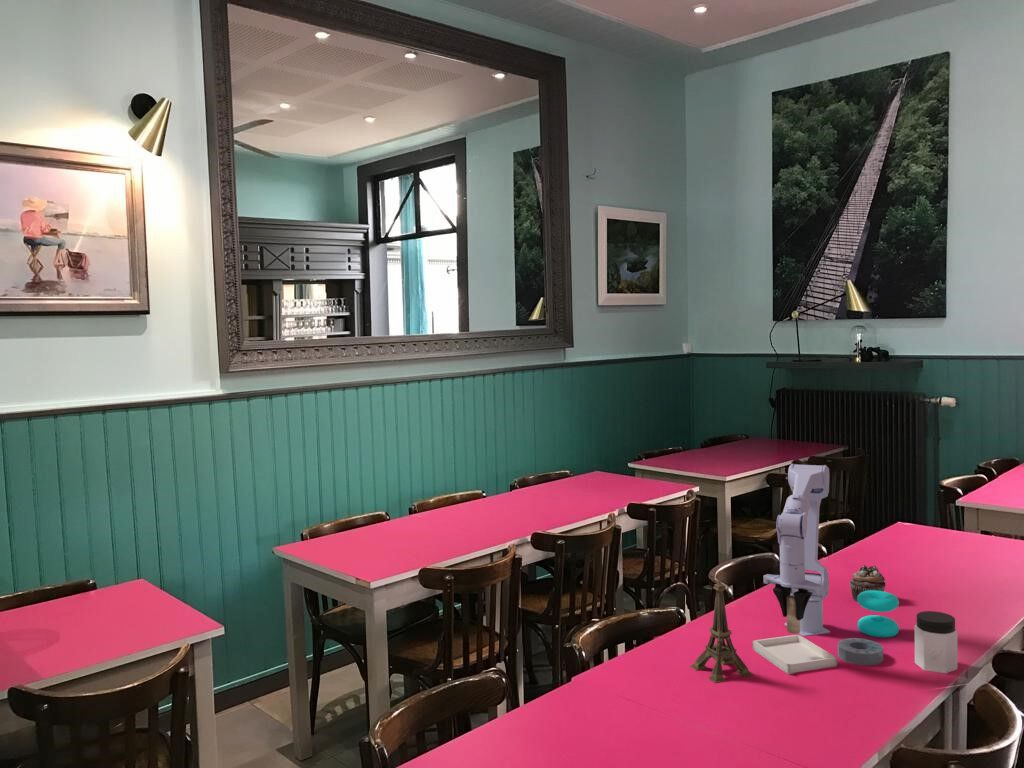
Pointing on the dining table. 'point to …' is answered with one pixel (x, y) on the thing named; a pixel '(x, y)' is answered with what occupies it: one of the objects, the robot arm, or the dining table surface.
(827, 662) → the tray
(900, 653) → the dining table surface
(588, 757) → the dining table surface
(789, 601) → the pin
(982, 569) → the dining table surface
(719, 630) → the eiffel tower
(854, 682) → the dining table surface
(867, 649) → the grey faceted ashtray
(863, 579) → the cupcake
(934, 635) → the jar
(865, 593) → the donuts
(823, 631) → the robot arm
